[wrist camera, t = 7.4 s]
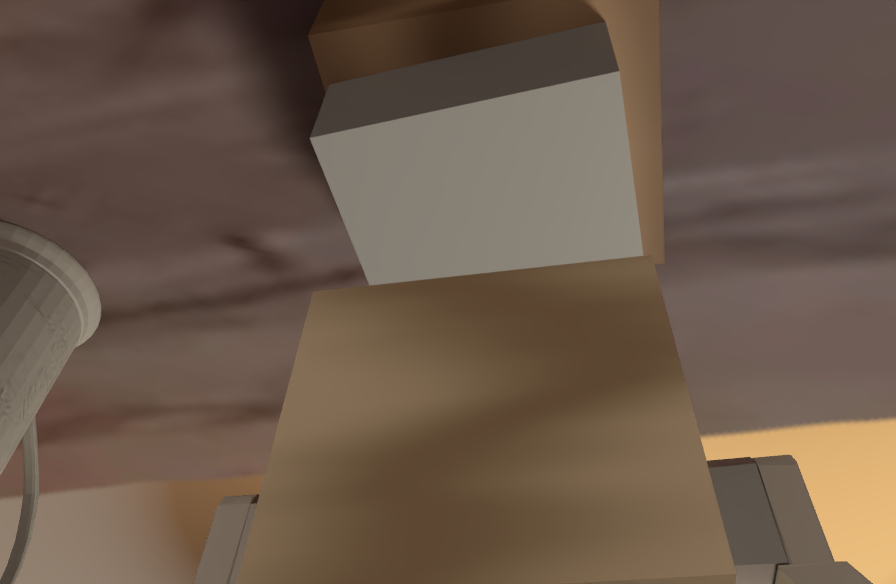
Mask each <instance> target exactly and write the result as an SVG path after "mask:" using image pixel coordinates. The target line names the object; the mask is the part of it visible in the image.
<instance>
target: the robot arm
mask: <svg viewBox="0 0 896 584" xmlns="http://www.w3.org/2000/svg"><path fill="white" fill-rule="evenodd" d="M707 465H708V468H709V472H710V476H711V480H712V483H713V487H714V491H715V495H716V499H717V502H718V506H719V510H720V514H721V517H722V521H723V525H724V529H725V532H726V536H727V540H728V544H729V547H730V551H731V555H732V559H733V563H734V566H735V570H736V584H873V583H871V582H870V581H869V580H868V579H867V578H865V577H864V576H863V575H862V574H861V573H859V572H858V571H857V570H856V569H855V568H854V567H852V566H851V565H850V564H849V563H848V562H835V561H834V559H833V556H832V553H831V551H830V548H829V546H828V543H827V540H826V538H825V535H824V533H823V530H822V527H821V525H820V522H819V519H818V517H817V514H816V512H815V509H814V506H813V504H812V501H811V498H810V496H809V493H808V490H807V488H806V485H805V483H804V480H803V477H802V475H801V472H800V469H799V467H798V464H797V462H796V460H795V459H794V458H793V457H792V456H791V455H781V456H769V457H758V458H750V457H745V458H735V459H723V460H711V461H707ZM258 499H259V494H257V495H242V496H228V497H224V498H223V500H222V501H221V503H220V504H219V505H218V507H217V509H216V512H215V515H214V518H213V522H212V525H211V528H210V531H209V534H208V538H207V541H206V544H205V547H204V551H203V554H202V557H201V560H200V563H199V566H198V570H197V573H196V576H195V579H194V582H193V584H236V582H237V578H238V574H239V571H240V567H241V563H242V559H243V556H244V552H245V548H246V544H247V540H248V537H249V533H250V529H251V525H252V521H253V518H254V514H255V510H256V506H257V503H258Z"/></svg>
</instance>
